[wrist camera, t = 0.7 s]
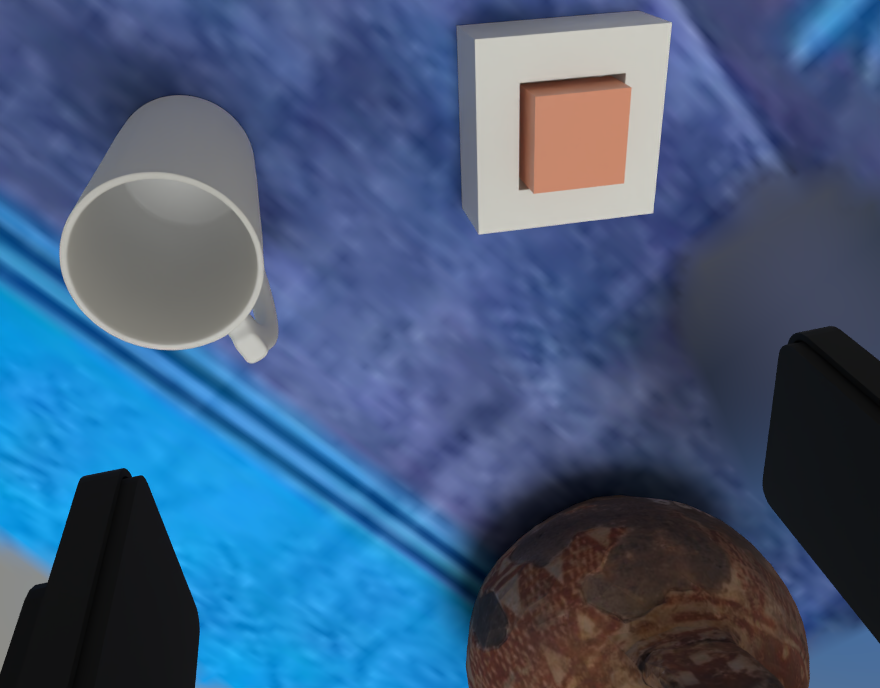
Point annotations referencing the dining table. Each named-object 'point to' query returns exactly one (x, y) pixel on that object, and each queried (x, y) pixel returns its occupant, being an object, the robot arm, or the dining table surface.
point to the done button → (573, 133)
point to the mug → (173, 234)
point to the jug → (635, 605)
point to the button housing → (542, 60)
